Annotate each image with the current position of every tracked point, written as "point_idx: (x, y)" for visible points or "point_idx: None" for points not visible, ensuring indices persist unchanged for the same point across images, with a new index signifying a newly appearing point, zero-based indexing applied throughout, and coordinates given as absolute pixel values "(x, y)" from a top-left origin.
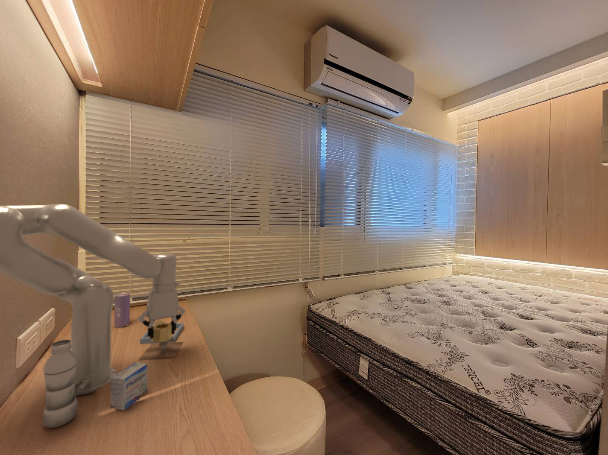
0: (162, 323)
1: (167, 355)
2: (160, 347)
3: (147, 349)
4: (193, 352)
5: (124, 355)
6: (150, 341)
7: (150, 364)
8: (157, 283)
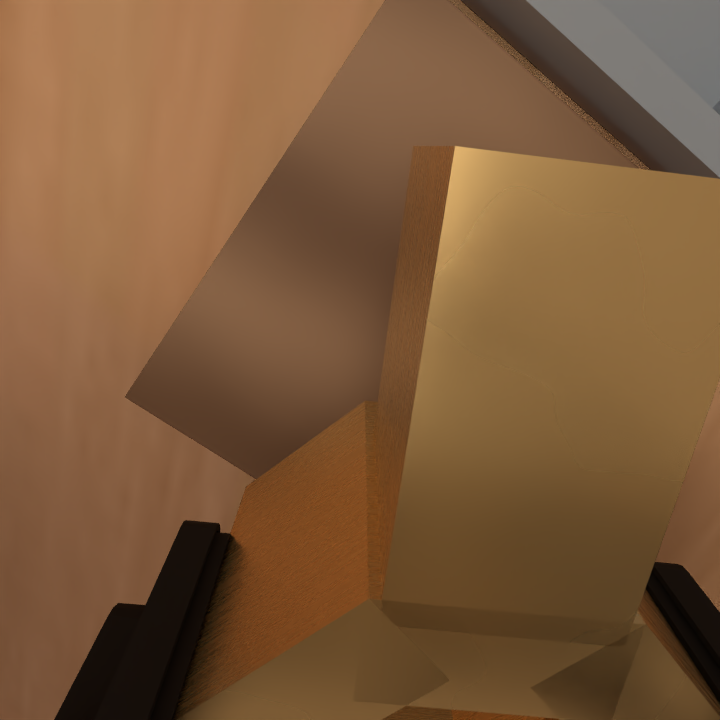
0: (567, 653)
1: None
2: None
3: (293, 160)
4: (690, 557)
5: (10, 21)
6: None
7: None
8: None
